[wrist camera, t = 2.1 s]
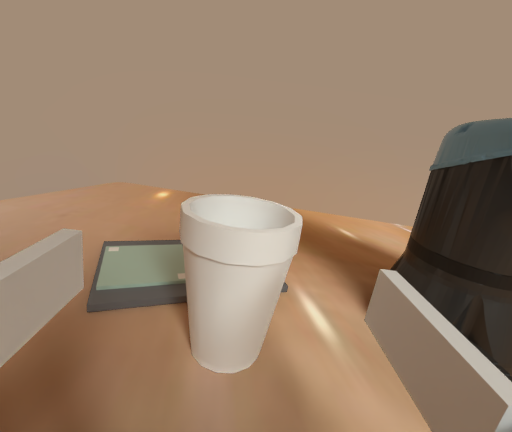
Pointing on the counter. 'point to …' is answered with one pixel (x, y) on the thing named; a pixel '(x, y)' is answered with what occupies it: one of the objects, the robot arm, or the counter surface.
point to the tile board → (139, 275)
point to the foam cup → (234, 274)
